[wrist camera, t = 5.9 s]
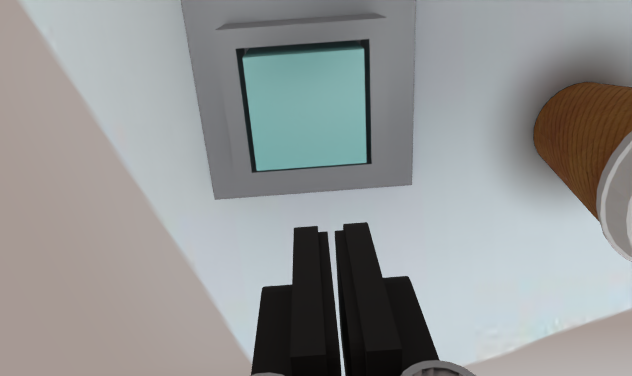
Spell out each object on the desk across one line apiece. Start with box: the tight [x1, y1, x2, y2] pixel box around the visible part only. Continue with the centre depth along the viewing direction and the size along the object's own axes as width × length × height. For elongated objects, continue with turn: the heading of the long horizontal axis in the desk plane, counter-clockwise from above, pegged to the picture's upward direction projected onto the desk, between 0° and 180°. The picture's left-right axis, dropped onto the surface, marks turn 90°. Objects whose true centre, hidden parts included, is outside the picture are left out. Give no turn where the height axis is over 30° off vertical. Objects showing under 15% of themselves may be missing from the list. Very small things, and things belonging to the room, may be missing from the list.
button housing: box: [181, 0, 416, 200], centre depth 29 cm, size 14×14×5 cm
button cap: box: [243, 40, 367, 171], centre depth 27 cm, size 6×6×4 cm
